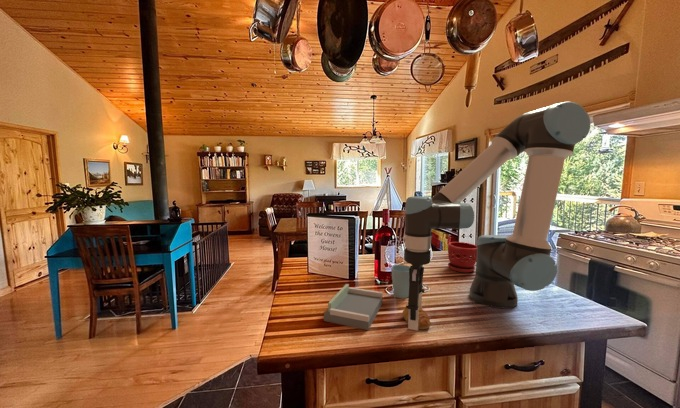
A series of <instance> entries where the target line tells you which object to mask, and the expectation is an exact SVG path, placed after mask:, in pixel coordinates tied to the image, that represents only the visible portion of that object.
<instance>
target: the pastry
mask: <svg viewBox="0 0 680 408" xmlns="http://www.w3.org/2000/svg"><path fill="white" fill-rule="evenodd" d="M408 313H409V309H408V308H406V307H405V308H404V309H403V311H402V317H403V319H404V321H406V323H408ZM430 320H431V319H430V318H429V316H428V314H427V312H426V311H425V310H424V309H423V308H419V314H418V330H427V329H429V328H430V327H431V326H432V322H431V321H430Z"/></svg>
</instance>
